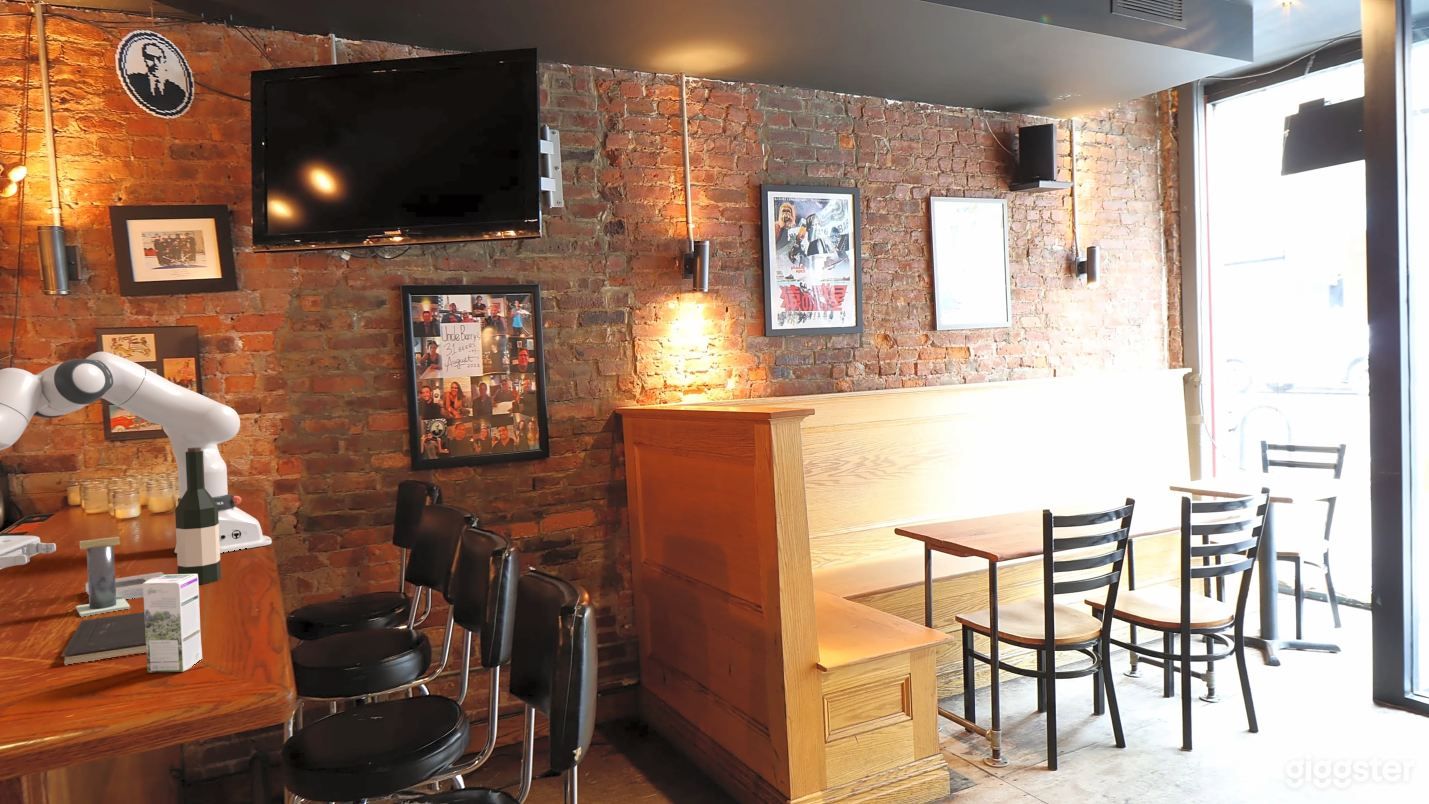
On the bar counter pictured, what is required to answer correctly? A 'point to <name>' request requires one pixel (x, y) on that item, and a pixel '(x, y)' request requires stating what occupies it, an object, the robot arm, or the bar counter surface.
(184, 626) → the syrup box
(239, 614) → the bar counter surface
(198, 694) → the bar counter surface
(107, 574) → the t key
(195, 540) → the wine bottle
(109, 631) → the hardcover book
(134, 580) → the plate
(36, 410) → the robot arm
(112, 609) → the coaster
